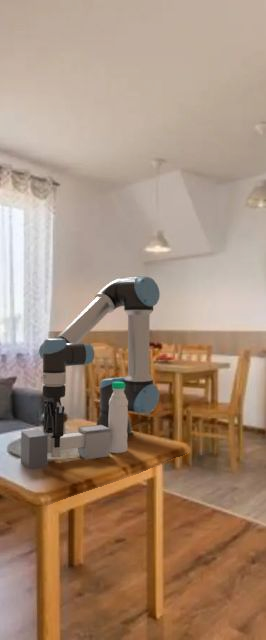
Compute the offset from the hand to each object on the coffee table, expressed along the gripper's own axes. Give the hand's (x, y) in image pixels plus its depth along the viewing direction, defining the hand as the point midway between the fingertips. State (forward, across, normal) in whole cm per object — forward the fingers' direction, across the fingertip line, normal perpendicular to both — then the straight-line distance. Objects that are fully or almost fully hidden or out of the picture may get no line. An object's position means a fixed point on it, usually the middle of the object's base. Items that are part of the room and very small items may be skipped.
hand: (52, 454), depth 155 cm
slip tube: (-2, 0, +4) cm, 4 cm away
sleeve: (+2, 0, +15) cm, 15 cm away
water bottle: (+2, -1, +25) cm, 25 cm away
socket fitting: (+2, 0, -6) cm, 7 cm away
